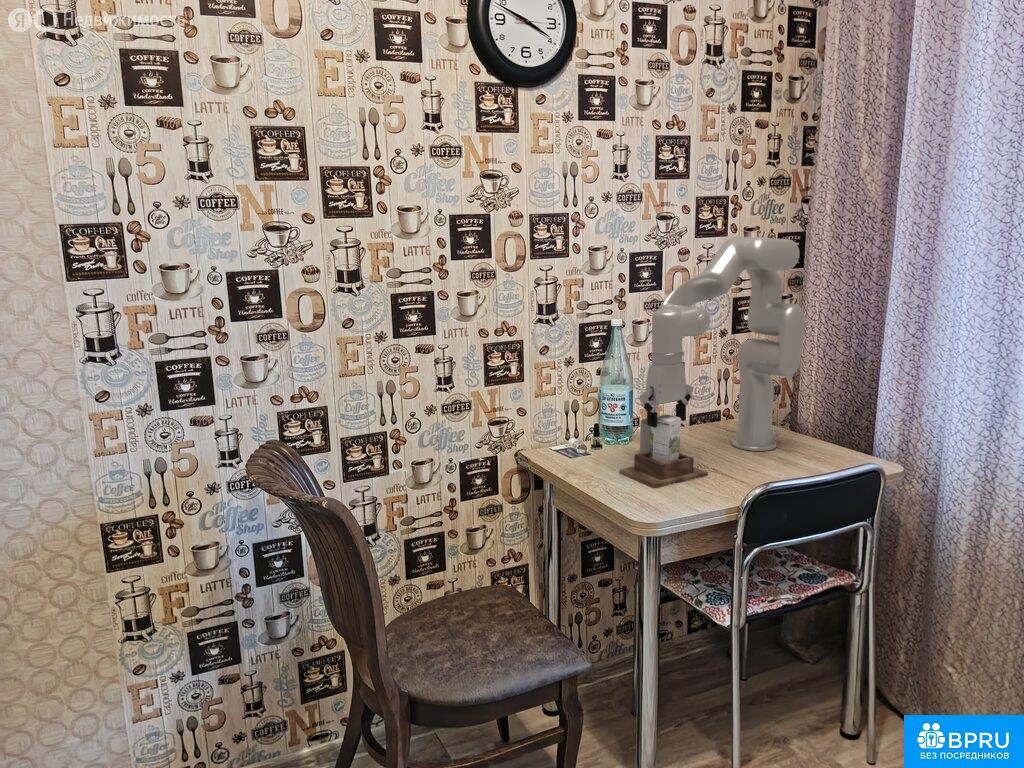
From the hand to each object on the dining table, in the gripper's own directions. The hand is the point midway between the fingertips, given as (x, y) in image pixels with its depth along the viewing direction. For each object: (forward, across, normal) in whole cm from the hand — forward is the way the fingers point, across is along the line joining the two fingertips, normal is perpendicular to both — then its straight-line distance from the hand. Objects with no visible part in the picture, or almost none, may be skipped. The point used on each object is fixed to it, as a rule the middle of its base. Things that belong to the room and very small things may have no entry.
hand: (666, 423), depth 196 cm
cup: (+14, -8, -14) cm, 21 cm away
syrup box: (+13, +1, 0) cm, 13 cm away
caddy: (+14, +1, 0) cm, 14 cm away
